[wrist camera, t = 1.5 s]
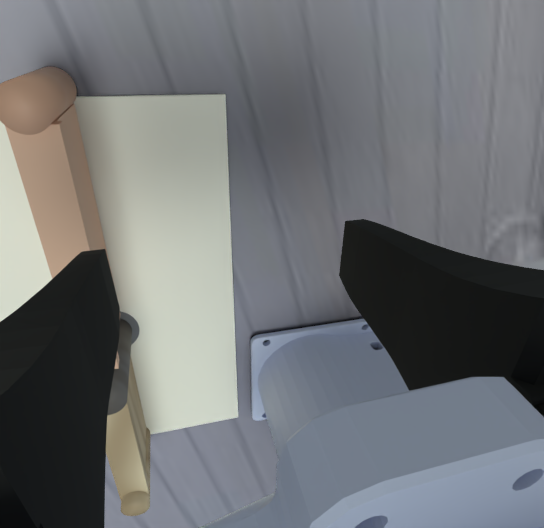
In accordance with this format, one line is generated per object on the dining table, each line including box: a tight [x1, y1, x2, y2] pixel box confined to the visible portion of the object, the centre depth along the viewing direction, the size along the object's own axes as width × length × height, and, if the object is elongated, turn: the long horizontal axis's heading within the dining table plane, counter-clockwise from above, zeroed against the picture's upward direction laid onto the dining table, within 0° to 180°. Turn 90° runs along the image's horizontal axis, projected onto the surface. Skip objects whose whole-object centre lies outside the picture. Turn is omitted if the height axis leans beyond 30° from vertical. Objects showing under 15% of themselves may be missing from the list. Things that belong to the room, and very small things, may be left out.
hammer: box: [106, 319, 150, 516], centre depth 23 cm, size 2×11×6 cm, turn 178°
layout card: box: [0, 94, 238, 435], centre depth 22 cm, size 20×22×1 cm
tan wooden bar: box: [0, 66, 119, 369], centre depth 17 cm, size 2×12×5 cm, turn 179°
